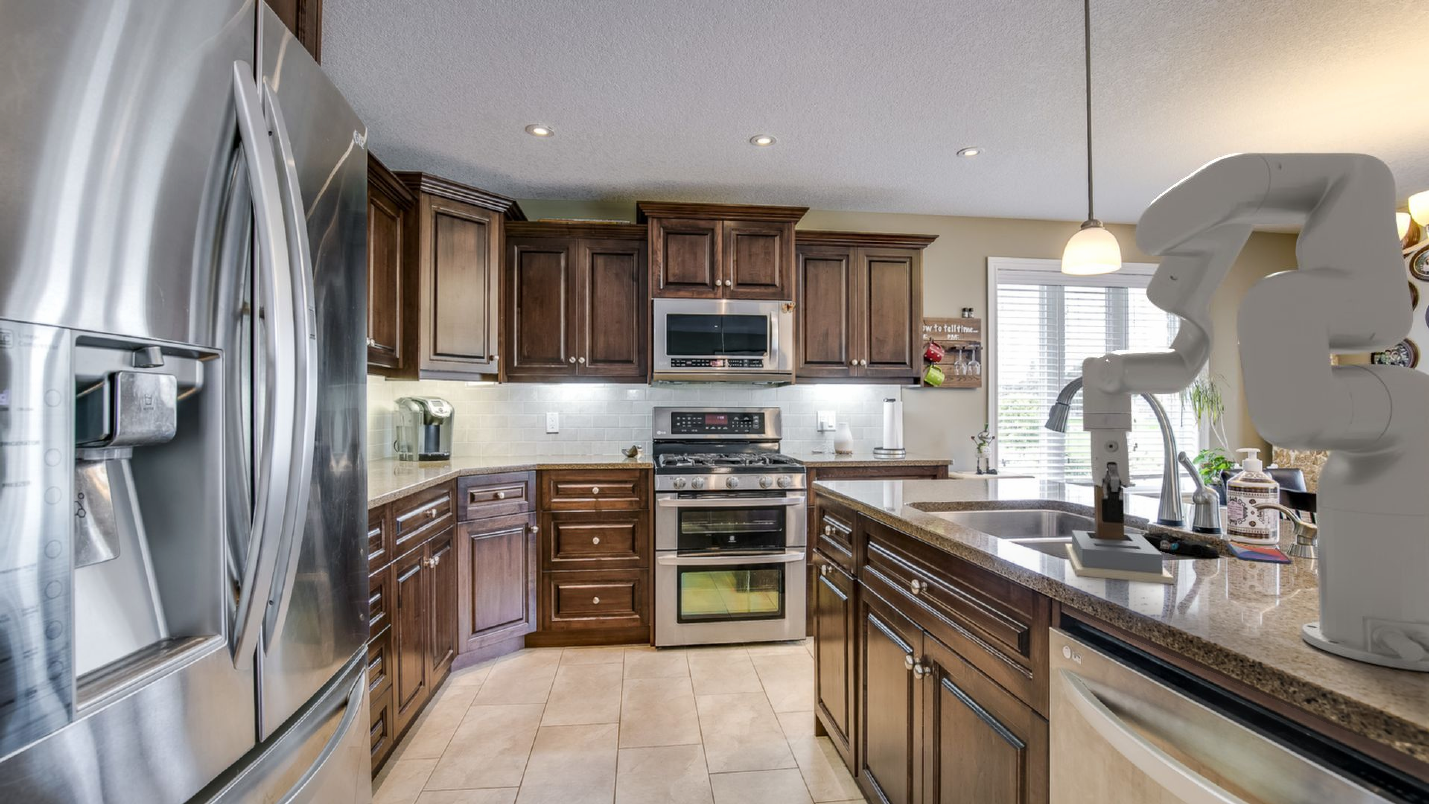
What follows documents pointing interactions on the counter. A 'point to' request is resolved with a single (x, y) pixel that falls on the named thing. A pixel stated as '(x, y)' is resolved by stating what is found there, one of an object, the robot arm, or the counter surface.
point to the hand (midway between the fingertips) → (1108, 518)
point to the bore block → (1116, 558)
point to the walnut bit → (1102, 528)
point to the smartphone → (1257, 553)
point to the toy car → (1181, 544)
